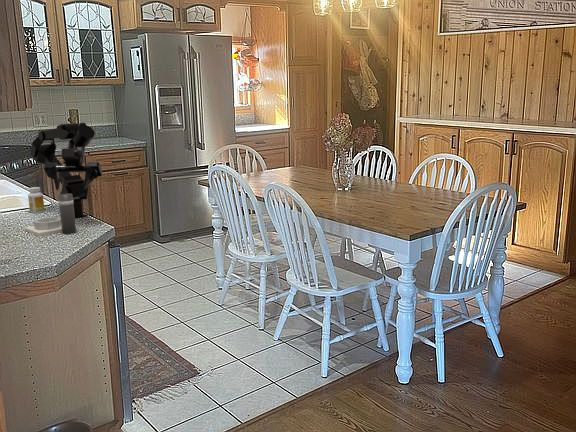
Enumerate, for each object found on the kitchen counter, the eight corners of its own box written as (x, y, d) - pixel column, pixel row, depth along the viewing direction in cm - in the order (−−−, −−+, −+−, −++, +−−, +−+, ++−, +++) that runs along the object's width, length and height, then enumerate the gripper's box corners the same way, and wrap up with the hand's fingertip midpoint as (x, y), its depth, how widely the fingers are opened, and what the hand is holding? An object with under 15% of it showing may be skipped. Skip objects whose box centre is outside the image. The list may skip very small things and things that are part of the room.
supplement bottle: (46, 210, 235) (44, 186, 233) (41, 213, 230) (38, 188, 228) (33, 210, 235) (30, 186, 233) (27, 213, 230) (24, 189, 228)
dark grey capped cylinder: (59, 232, 199) (55, 194, 196) (72, 229, 202) (68, 192, 199) (65, 234, 196) (61, 196, 193) (79, 232, 199) (75, 194, 196)
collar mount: (24, 230, 203) (23, 220, 202) (58, 224, 211) (57, 214, 211) (39, 236, 195) (37, 225, 194) (73, 229, 203) (72, 219, 202)
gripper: (42, 139, 204) (35, 176, 196) (97, 138, 205) (92, 174, 197) (51, 159, 213) (45, 195, 205) (104, 157, 215) (100, 193, 207)
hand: (70, 189), depth 203 cm, fingers open, 9 cm apart
